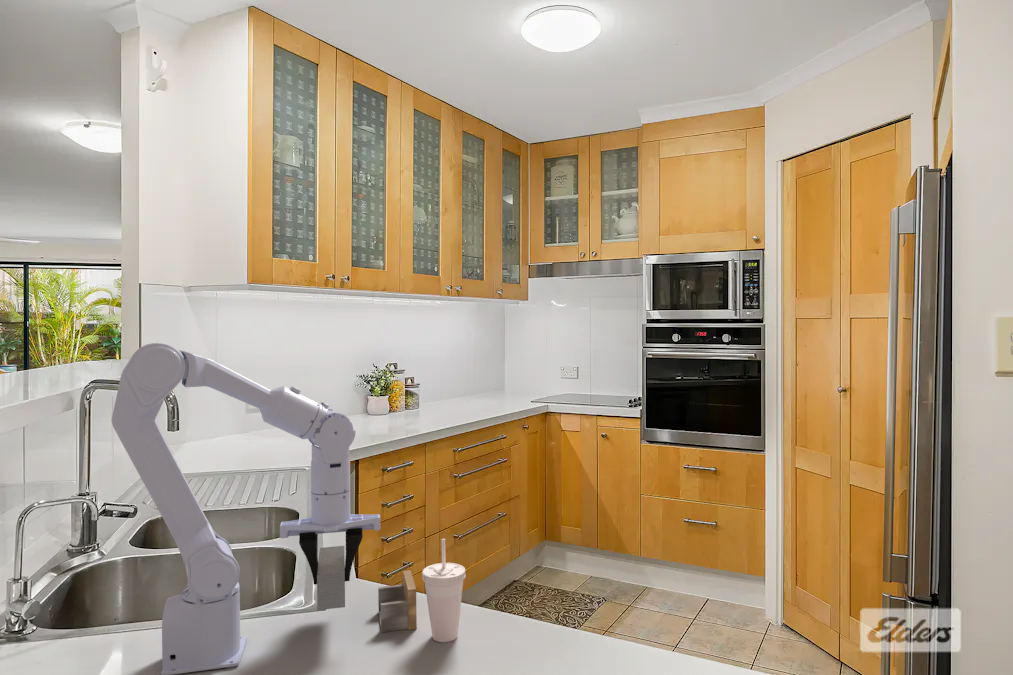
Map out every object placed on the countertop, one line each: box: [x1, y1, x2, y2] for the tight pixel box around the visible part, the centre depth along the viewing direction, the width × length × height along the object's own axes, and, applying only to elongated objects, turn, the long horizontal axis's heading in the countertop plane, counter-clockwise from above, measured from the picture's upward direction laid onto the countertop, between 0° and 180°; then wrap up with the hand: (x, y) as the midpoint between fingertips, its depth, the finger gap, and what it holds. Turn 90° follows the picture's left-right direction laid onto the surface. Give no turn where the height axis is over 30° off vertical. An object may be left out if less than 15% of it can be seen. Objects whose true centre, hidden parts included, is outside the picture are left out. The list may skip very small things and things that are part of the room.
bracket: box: [377, 569, 418, 633], centre depth 98 cm, size 5×8×6 cm, turn 15°
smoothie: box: [421, 538, 467, 643], centre depth 92 cm, size 6×6×14 cm
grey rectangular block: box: [316, 545, 346, 611], centre depth 96 cm, size 12×4×5 cm, turn 15°
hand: (331, 580), depth 96 cm, fingers closed on grey rectangular block, 4 cm apart
